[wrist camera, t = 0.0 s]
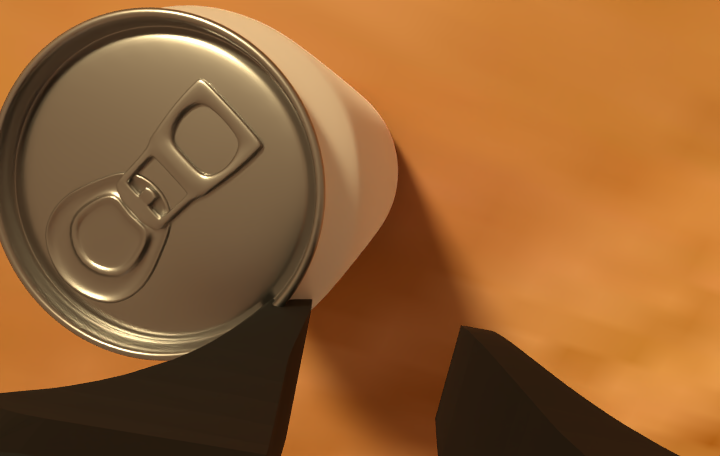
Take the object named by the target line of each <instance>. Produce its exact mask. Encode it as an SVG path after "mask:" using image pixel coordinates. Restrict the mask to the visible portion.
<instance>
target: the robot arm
mask: <svg viewBox="0 0 720 456" xmlns="http://www.w3.org/2000/svg"><path fill="white" fill-rule="evenodd" d="M274 301H275V300H274V299H272V300H270V301H269V302H267V303H265V304H264V305H263V306H262V307H261V308H259V309H258V310H257V311H256V312H255V313H253V314H252V315H251V316H249V317H248V318H247V319H245V320H244V321H242V322H241V323H240V324H238V325H237V326H236V327H234V328H233V329H231V330H230V331H228V332H226V333H225V334H223V335H222V336H220V337H218V338H217V339H215V340H213V341H212V342H210V343H208V344H206V345H204V346H202V347H200V348H198V349H196V350H194V351H192V352H189V353H187V354H185V355H182V356H180V357H178V358H175V359H173V360H170V361H167V362H164V363H161V364H158V365H155V366H151V367H148V368H145V369H142V370H139V371H135V372H132V373H129V374H125V375H122V376H117V377H113V378H108V379H104V380H100V381H94V382H89V383H83V384H78V385H72V386H65V387H58V388H50V389H40V390H29V391H18V392H8V393H0V456H281V453H282V450H283V447H284V443H285V440H286V435H287V430H288V425H289V420H290V415H291V409H292V404H293V399H294V394H295V389H296V384H297V379H298V374H299V369H300V364H301V359H302V354H303V348H304V343H305V338H306V333H307V328H308V323H309V318H310V313H311V308H312V299H291V300H289V301H288V302H287V303H286V304H285V305H284V307H278V306H274V305H273V304H272V303H273V302H274ZM435 420H436V436H437V449H438V456H679V455H677V454H675V453H673V452H671V451H669V450H667V449H666V448H664V447H662V446H660V445H658V444H657V443H655V442H653V441H651V440H650V439H648V438H646V437H645V436H643V435H641V434H639V433H638V432H636V431H634V430H633V429H631V428H629V427H627V426H626V425H624V424H623V423H621V422H619V421H618V420H616V419H615V418H613V417H611V416H610V415H608V414H607V413H605V412H604V411H603V410H601V409H600V408H598V407H597V406H595V405H594V404H592V403H591V402H589V401H588V400H587V399H585V398H584V397H582V396H581V395H579V394H578V393H577V392H575V391H574V390H573V389H571V388H570V387H568V386H567V385H566V384H564V383H563V382H562V381H560V380H559V379H558V378H556V377H555V376H554V375H553V374H551V373H550V372H549V371H547V370H546V369H545V368H543V367H542V366H541V365H540V364H538V363H537V362H536V361H534V360H533V359H532V358H531V357H529V356H528V355H527V354H525V353H524V352H523V351H522V350H520V349H519V348H518V347H516V346H515V345H514V344H512V343H511V342H510V341H508V340H507V339H505V338H504V337H502V336H501V335H499V334H497V333H495V332H493V331H489V330H484V329H478V328H473V327H467V326H462V325H461V328H460V331H459V335H458V338H457V342H456V346H455V349H454V353H453V356H452V360H451V364H450V367H449V371H448V375H447V378H446V382H445V385H444V389H443V393H442V396H441V400H440V403H439V407H438V411H437V414H436V418H435Z"/></svg>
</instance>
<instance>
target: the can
mask: <svg viewBox="0 0 720 456" xmlns="http://www.w3.org/2000/svg"><path fill="white" fill-rule="evenodd" d="M397 182H398V161H397V154H396V150H395V146H394V142H393V139H392V137H391V134H390V132H389V130H388V128H387V126H386V124H385V122H384V121H383V119H382V117H381V116H380V115H379V113H378V112H377V111H376V109H375V108H374V107H373V106H372V105H371V104H370V103H369V102H368V101H367V100H366V99H365V98H364V97H363V96H362V95H361V94H359V93H358V92H357V91H356V90H355V89H354V88H352V87H351V86H350V85H349V84H348V83H346V82H345V81H344V80H343V79H342V78H340V77H339V76H338V75H337V74H335V73H334V72H333V71H332V70H330V69H329V68H328V67H327V66H325V65H324V64H323V63H322V62H320V61H319V60H318V59H317V58H315V57H314V56H313V55H311V54H310V53H309V52H308V51H306V50H305V49H304V48H302V47H301V46H300V45H298V44H297V43H295V42H294V41H293V40H291V39H290V38H288V37H286V36H285V35H283V34H282V33H280V32H278V31H277V30H275V29H273V28H271V27H270V26H268V25H266V24H264V23H262V22H259V21H257V20H255V19H252V18H249V17H247V16H244V15H241V14H238V13H235V12H231V11H227V10H223V9H218V8H213V7H205V6H171V7H163V8H132V9H124V10H119V11H114V12H110V13H106V14H103V15H100V16H97V17H94V18H91V19H89V20H87V21H84V22H82V23H80V24H78V25H76V26H74V27H72V28H71V29H69V30H67V31H66V32H64V33H63V34H61V35H60V36H58V37H57V38H55V39H54V40H53V41H52V42H50V43H49V44H48V45H47V46H46V47H44V48H43V49H42V50H41V51H40V52H39V53H38V54H37V55H36V56H35V57H34V58H33V59H32V60H31V62H30V63H29V64H28V65H27V66H26V68H25V69H24V70H23V71H22V73H21V74H20V76H19V77H18V79H17V80H16V82H15V83H14V85H13V86H12V88H11V90H10V92H9V94H8V96H7V98H6V100H5V102H4V104H3V106H2V109H1V111H0V242H1V244H2V247H3V249H4V251H5V254H6V256H7V258H8V260H9V262H10V264H11V266H12V268H13V270H14V271H15V273H16V275H17V276H18V278H19V279H20V281H21V282H22V284H23V285H24V287H25V288H26V289H27V291H28V292H29V293H30V294H31V296H32V297H33V298H34V299H35V300H36V302H37V303H38V304H39V305H40V306H41V307H42V308H43V309H44V310H45V311H46V312H47V313H48V314H49V315H50V316H51V317H53V318H54V319H55V320H56V321H57V322H59V323H60V324H61V325H62V326H64V327H65V328H67V329H68V330H69V331H71V332H72V333H74V334H75V335H77V336H79V337H80V338H82V339H84V340H86V341H88V342H90V343H92V344H94V345H96V346H98V347H100V348H103V349H105V350H108V351H111V352H114V353H117V354H120V355H124V356H128V357H133V358H139V359H145V360H158V361H170V360H173V359H175V358H178V357H180V356H182V355H185V354H187V353H189V352H192V351H194V350H196V349H198V348H200V347H202V346H204V345H206V344H208V343H210V342H212V341H213V340H215V339H217V338H218V337H220V336H222V335H223V334H225V333H226V332H228V331H230V330H231V329H233V328H234V327H236V326H237V325H238V324H240V323H241V322H242V321H244V320H245V319H247V318H248V317H249V316H251V315H252V314H253V313H255V312H256V311H257V310H258V309H259V308H261V307H262V306H263V305H264V304H265V303H267V302H269V301H270V300H272V299H274V300H275V301H274V302H273V303H272V304H273V305H274V306H278V307H284V305H285V304H286V303H287V302H288V301H289V300H291V299H312V308H311V310H312V309H313V308H314V307H315V306H316V305H317V304H318V303H319V302H320V301H321V300H322V299H323V298H324V297H325V296H326V295H327V294H328V293H329V291H330V290H331V289H332V288H333V287H334V286H335V284H336V283H337V282H338V281H339V280H340V279H341V277H342V276H343V275H344V274H345V272H346V271H347V270H348V269H349V268H350V266H351V265H352V264H353V263H354V261H355V260H356V259H357V258H358V256H359V255H360V254H361V252H362V251H363V250H364V249H365V247H366V246H367V245H368V244H369V242H370V241H371V240H372V238H373V237H374V236H375V234H376V233H377V232H378V230H379V229H380V227H381V226H382V224H383V223H384V221H385V219H386V217H387V215H388V213H389V211H390V209H391V207H392V204H393V201H394V198H395V194H396V189H397Z"/></svg>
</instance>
